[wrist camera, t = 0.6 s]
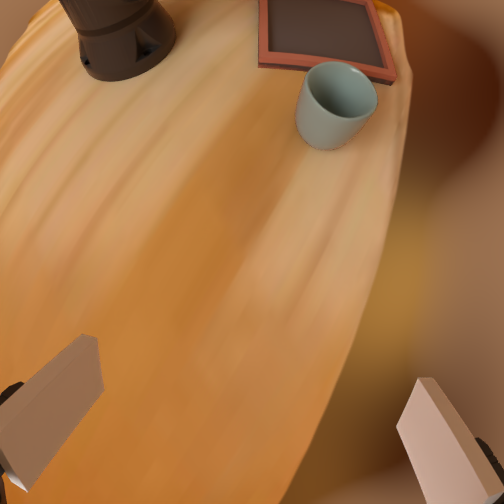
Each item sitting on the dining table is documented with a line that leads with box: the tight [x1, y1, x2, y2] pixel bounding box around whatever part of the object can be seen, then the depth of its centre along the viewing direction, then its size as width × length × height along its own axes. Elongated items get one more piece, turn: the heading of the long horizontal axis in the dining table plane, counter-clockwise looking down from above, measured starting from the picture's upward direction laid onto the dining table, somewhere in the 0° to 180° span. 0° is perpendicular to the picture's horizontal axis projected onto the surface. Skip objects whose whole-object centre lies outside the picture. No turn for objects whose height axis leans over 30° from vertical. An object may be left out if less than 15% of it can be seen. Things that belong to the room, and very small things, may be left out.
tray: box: [258, 0, 397, 86], centre depth 38 cm, size 20×20×2 cm
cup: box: [295, 61, 378, 151], centre depth 32 cm, size 8×8×10 cm
